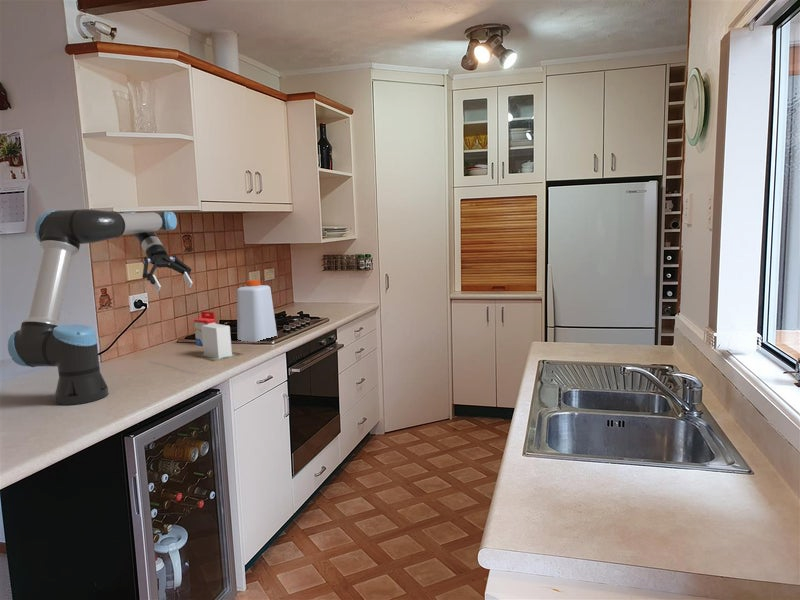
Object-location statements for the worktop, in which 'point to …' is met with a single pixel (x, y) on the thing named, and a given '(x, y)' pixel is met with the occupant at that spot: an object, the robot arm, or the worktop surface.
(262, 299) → the plastic bottle
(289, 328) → the worktop surface
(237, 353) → the dock board
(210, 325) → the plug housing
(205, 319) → the ink box
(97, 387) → the robot arm
